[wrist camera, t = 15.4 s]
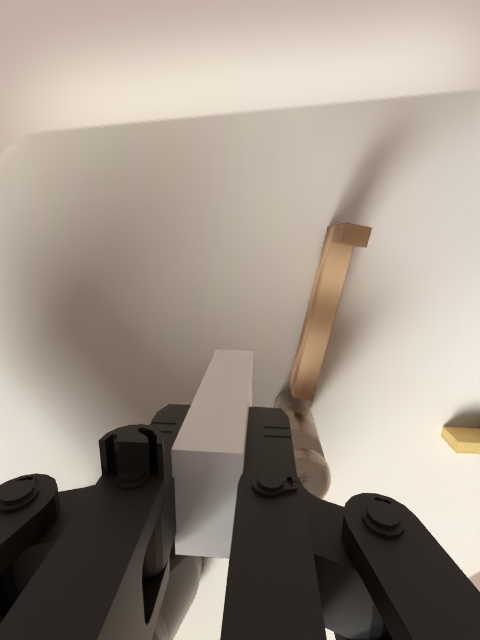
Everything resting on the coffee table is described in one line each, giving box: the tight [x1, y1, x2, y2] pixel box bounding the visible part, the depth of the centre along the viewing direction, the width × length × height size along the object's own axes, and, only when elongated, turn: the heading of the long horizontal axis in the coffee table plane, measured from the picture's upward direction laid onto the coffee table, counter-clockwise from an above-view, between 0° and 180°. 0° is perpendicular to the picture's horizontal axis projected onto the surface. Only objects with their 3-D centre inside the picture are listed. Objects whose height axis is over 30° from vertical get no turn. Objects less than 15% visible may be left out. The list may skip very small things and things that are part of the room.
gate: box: [290, 223, 372, 401], centre depth 25 cm, size 14×2×6 cm, turn 169°
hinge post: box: [274, 390, 331, 499], centre depth 25 cm, size 3×3×11 cm
